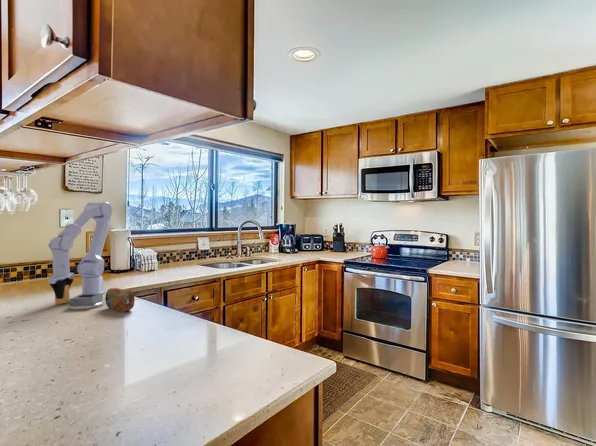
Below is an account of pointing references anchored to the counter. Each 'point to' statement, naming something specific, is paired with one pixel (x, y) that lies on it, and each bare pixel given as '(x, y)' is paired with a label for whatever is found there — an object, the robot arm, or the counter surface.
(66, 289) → the tan rectangular prism
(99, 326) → the counter surface
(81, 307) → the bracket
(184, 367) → the counter surface
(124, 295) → the tin
